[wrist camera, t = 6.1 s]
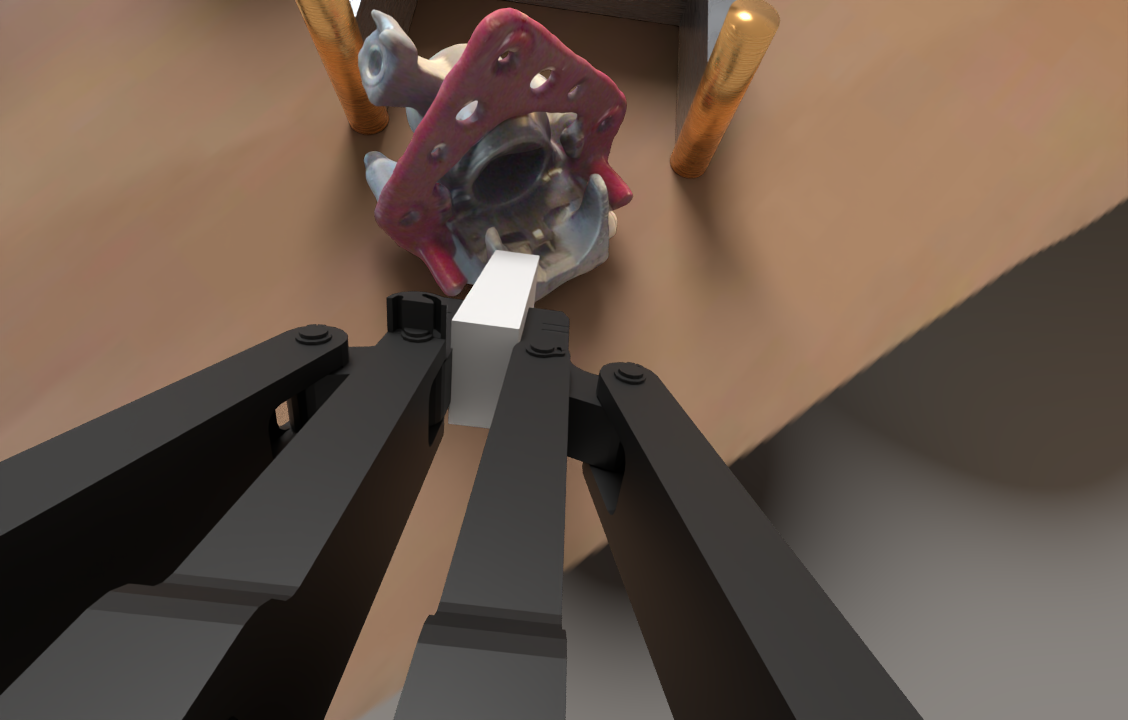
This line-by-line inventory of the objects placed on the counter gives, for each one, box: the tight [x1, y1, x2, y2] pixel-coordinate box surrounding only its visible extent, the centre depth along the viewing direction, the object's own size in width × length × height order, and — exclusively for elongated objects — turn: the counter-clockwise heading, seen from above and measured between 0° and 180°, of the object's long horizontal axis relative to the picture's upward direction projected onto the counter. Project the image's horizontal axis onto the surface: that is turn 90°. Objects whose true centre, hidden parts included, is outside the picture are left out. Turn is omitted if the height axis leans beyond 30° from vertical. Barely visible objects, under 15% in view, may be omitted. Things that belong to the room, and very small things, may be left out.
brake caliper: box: [358, 8, 633, 302], centre depth 21 cm, size 11×11×12 cm
